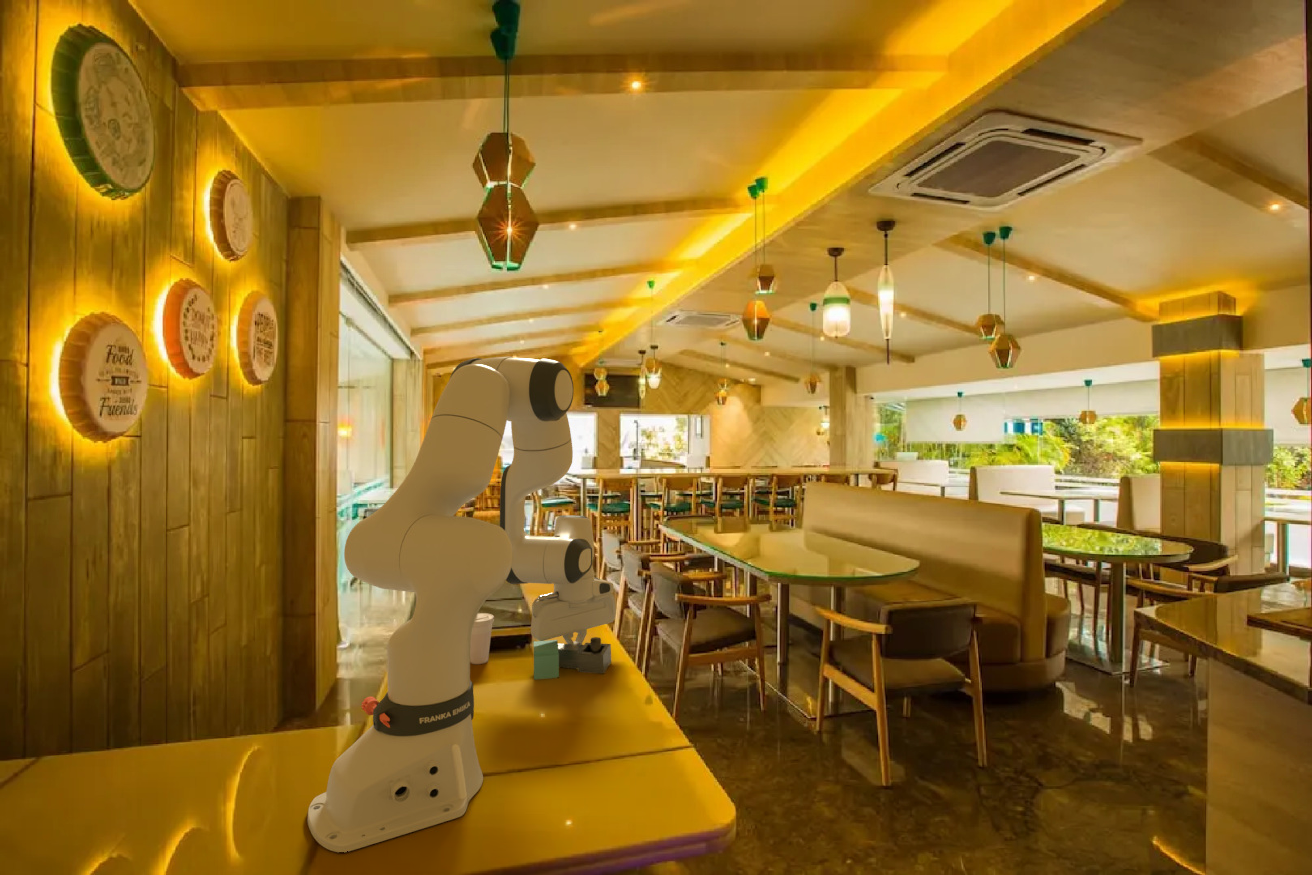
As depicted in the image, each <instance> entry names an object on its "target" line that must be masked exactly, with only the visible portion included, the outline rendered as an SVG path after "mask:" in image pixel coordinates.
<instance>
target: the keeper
mask: <svg viewBox="0 0 1312 875" xmlns="http://www.w3.org/2000/svg"><path fill="white" fill-rule="evenodd" d="M557 677H559V678H560V668H559V654H558V639H552V640H551V639H548V640H544V641H539V640H537V641H533V680H545V679H558V678H557Z"/></svg>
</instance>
